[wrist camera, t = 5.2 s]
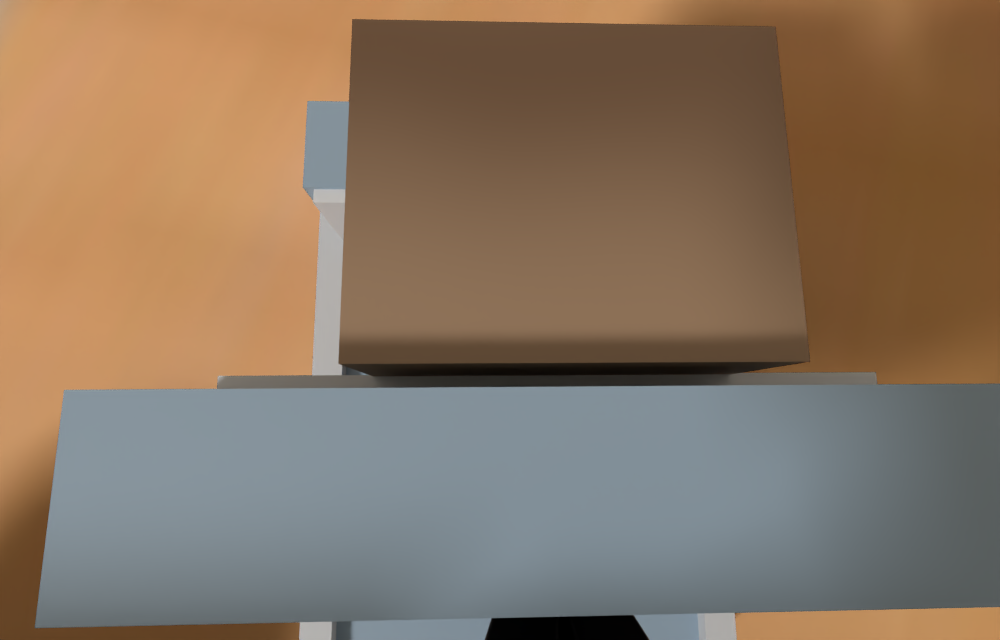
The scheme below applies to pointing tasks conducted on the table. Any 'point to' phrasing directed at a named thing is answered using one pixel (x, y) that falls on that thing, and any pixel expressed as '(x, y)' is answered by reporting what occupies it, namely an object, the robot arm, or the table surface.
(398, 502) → the jaw
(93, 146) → the table surface
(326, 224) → the light blue base plate
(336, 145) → the fixed jaw
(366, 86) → the block
